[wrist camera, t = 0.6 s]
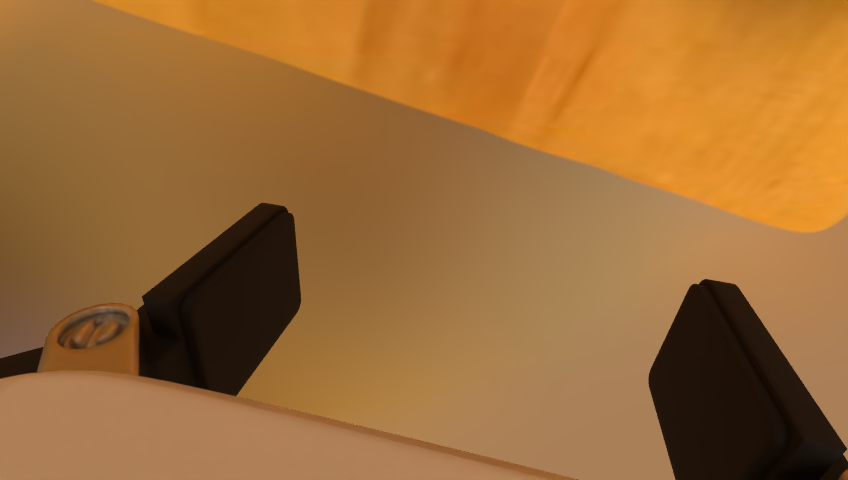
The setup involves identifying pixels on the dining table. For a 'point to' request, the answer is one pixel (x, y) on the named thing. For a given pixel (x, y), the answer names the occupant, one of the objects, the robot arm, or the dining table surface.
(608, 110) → the dining table surface
